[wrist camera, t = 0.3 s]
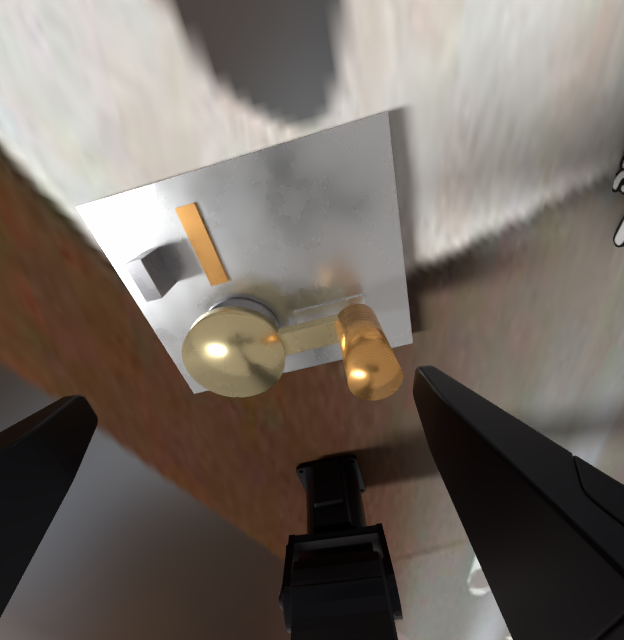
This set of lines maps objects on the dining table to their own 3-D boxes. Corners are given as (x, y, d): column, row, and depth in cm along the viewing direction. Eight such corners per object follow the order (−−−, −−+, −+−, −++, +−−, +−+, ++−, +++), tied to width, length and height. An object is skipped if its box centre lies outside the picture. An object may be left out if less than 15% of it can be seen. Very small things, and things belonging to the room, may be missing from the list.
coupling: (212, 393, 21) (187, 465, 17) (169, 320, 18) (122, 382, 13) (382, 354, 20) (409, 419, 15) (367, 269, 17) (395, 316, 12)
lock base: (407, 334, 24) (424, 362, 20) (198, 383, 25) (184, 416, 22) (382, 113, 16) (402, 105, 13) (88, 203, 18) (44, 215, 15)
